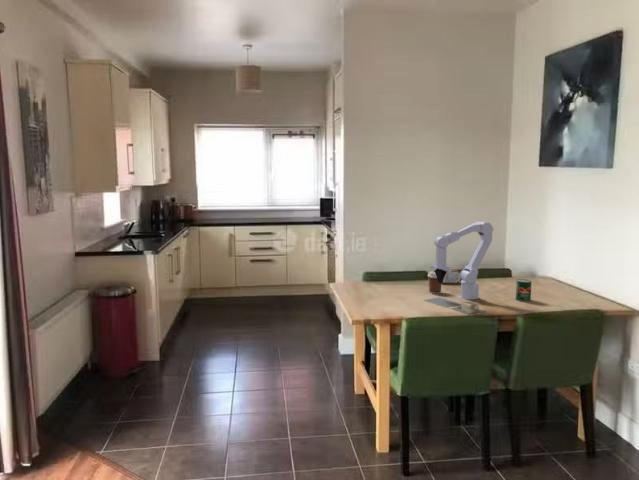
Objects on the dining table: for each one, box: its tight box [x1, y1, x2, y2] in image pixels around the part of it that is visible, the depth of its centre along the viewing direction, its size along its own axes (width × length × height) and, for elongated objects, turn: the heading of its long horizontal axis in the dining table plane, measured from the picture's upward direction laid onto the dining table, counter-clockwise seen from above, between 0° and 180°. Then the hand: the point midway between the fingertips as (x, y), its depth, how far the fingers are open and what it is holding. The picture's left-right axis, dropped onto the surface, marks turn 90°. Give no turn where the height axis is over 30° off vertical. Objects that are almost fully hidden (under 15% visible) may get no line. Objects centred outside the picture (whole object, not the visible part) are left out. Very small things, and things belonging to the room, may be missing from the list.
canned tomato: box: [515, 278, 533, 302], centre depth 297 cm, size 8×8×11 cm
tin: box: [442, 269, 462, 284], centre depth 340 cm, size 15×3×8 cm, turn 92°
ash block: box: [460, 301, 480, 313], centre depth 272 cm, size 6×6×4 cm
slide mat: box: [423, 297, 487, 316], centre depth 284 cm, size 12×34×1 cm, turn 30°
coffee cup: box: [427, 270, 443, 295], centre depth 314 cm, size 9×9×12 cm
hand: (440, 282), depth 297 cm, fingers closed
